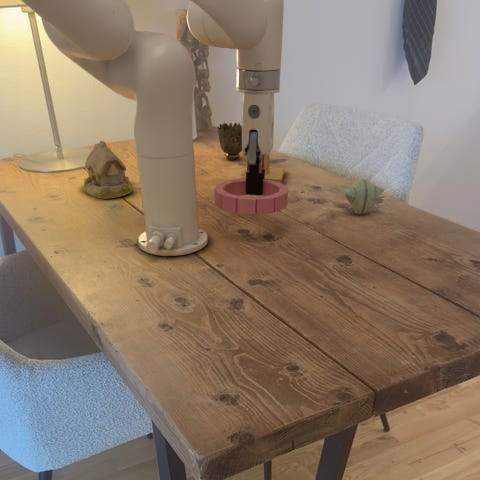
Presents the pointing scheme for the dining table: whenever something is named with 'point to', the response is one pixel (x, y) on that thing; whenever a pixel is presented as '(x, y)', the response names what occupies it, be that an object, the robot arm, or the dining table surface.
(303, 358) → the dining table surface
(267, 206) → the pink ring
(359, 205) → the green seashell
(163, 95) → the robot arm
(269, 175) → the stand
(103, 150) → the ceramic model
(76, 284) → the dining table surface
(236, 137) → the cup
